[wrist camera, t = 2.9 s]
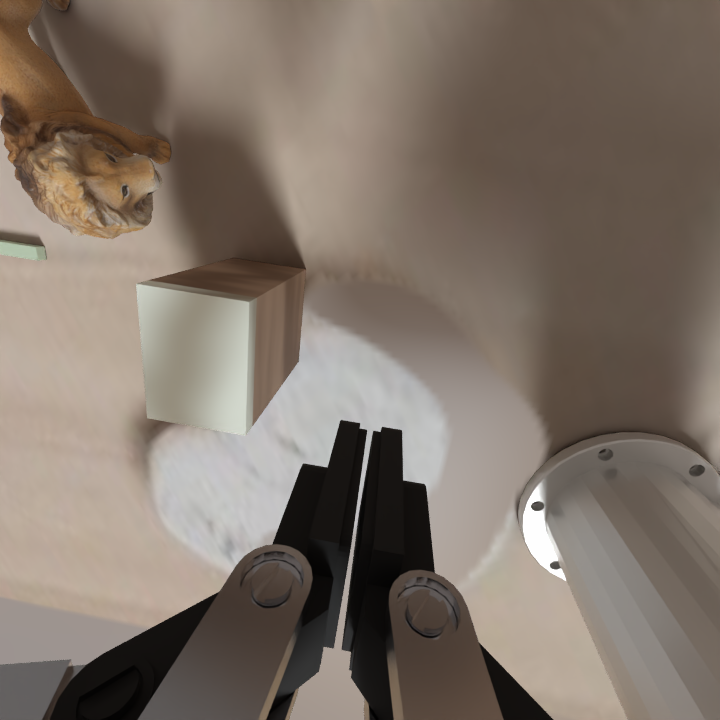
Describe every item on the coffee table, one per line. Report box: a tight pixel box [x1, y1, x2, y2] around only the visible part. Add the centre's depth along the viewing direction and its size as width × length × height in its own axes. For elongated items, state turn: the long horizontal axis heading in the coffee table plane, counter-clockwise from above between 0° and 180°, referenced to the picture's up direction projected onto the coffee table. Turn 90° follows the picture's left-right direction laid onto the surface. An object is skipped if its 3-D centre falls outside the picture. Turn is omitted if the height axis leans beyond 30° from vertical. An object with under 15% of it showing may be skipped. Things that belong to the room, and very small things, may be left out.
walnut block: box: [136, 258, 306, 436], centre depth 20 cm, size 4×6×9 cm
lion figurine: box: [0, 0, 171, 239], centre depth 17 cm, size 15×5×9 cm, turn 38°
